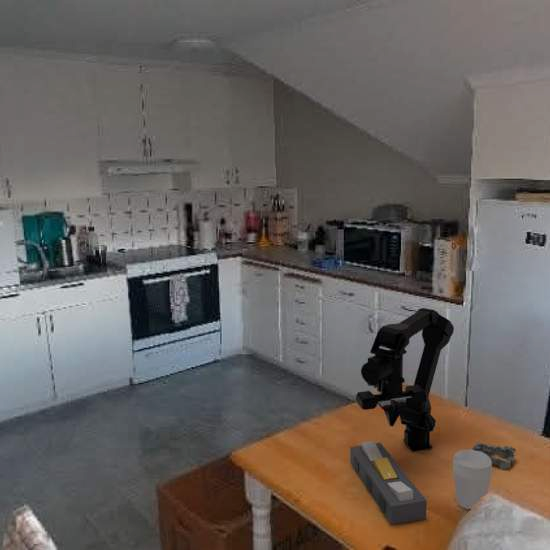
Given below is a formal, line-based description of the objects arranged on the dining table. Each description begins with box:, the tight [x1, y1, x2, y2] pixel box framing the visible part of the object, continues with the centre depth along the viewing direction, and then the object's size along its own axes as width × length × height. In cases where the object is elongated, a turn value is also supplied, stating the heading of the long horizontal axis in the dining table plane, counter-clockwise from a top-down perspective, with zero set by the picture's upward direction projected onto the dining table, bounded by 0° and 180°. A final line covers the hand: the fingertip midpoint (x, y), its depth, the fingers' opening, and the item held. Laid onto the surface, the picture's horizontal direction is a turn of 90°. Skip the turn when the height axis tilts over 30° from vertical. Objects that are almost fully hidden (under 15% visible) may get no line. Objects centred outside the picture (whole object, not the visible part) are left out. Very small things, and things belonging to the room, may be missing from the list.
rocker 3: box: [387, 481, 413, 502], centre depth 136 cm, size 4×7×2 cm, turn 12°
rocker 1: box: [361, 440, 383, 462], centre depth 154 cm, size 4×7×2 cm, turn 12°
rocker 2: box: [373, 457, 398, 481], centre depth 145 cm, size 4×7×2 cm, turn 12°
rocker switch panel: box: [349, 442, 428, 526], centre depth 146 cm, size 9×28×5 cm, turn 12°
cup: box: [452, 449, 493, 511], centre depth 138 cm, size 9×9×12 cm
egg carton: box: [471, 441, 517, 470], centre depth 157 cm, size 11×8×4 cm
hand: (391, 425), depth 154 cm, fingers closed
